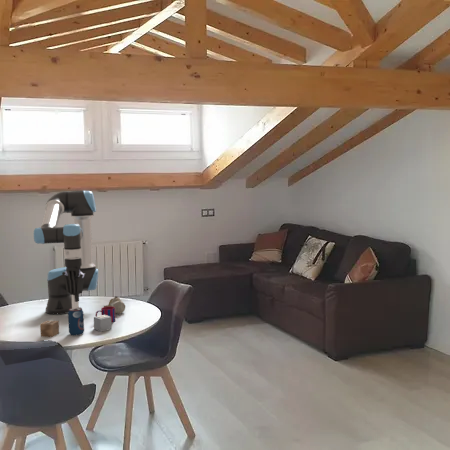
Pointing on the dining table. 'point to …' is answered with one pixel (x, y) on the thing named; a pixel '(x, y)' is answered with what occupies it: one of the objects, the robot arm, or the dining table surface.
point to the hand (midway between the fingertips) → (75, 308)
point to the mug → (108, 312)
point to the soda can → (76, 321)
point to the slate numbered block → (102, 323)
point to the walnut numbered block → (49, 328)
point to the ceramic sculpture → (117, 305)
